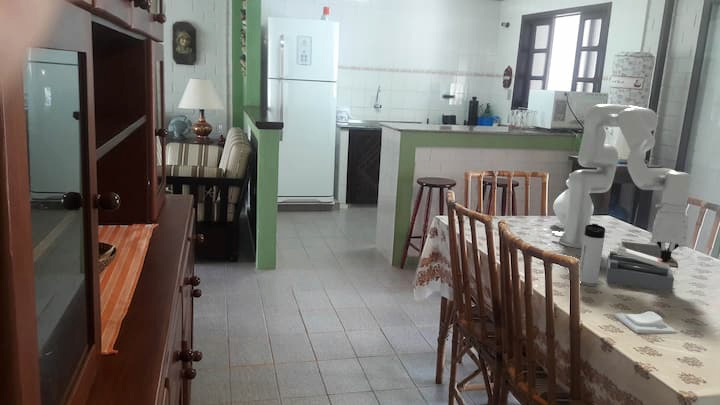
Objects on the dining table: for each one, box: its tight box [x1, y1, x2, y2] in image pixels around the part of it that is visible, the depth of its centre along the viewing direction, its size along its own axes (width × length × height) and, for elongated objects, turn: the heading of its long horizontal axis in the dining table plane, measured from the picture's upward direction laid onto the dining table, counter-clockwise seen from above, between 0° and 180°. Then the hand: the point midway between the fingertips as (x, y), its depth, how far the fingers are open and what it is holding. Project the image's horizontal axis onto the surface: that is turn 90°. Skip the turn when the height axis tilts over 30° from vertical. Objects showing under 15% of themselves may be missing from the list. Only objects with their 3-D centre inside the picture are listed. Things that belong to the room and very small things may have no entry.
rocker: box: [615, 245, 667, 268], centre depth 198 cm, size 16×5×2 cm, turn 68°
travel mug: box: [579, 223, 606, 287], centre depth 191 cm, size 6×7×20 cm
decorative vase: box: [552, 172, 595, 230], centre depth 267 cm, size 18×18×25 cm
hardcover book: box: [621, 241, 679, 268], centre depth 230 cm, size 16×23×2 cm
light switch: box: [614, 310, 679, 334], centre depth 162 cm, size 11×4×13 cm
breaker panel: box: [605, 250, 675, 294], centre depth 199 cm, size 20×16×7 cm
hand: (664, 261), depth 195 cm, fingers closed
